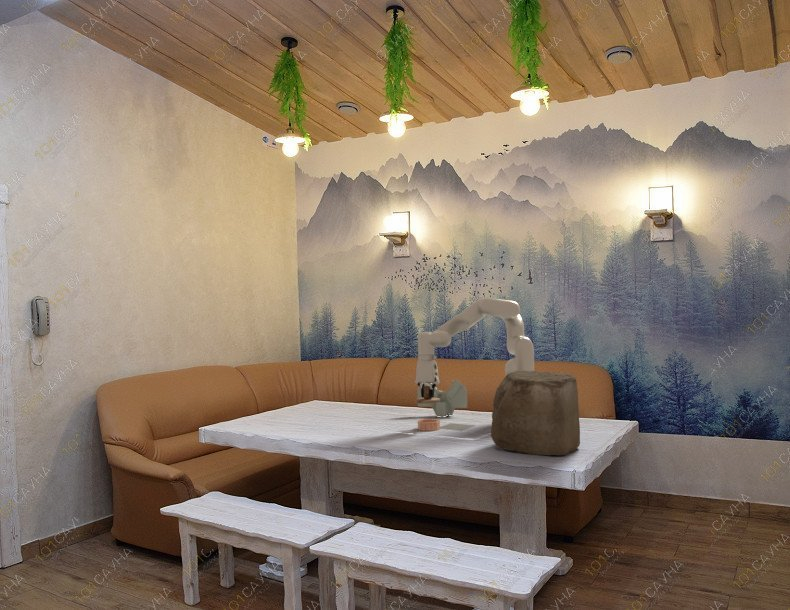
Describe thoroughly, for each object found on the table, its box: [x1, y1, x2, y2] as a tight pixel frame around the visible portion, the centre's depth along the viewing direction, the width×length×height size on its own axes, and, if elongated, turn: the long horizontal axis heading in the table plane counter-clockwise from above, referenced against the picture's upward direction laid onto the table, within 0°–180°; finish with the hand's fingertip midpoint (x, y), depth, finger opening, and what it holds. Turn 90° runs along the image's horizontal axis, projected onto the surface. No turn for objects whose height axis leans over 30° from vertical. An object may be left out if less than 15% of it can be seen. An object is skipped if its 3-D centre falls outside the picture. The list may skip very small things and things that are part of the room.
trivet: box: [439, 422, 477, 431], centre depth 303 cm, size 14×14×1 cm
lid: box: [414, 386, 440, 404], centre depth 300 cm, size 12×12×7 cm
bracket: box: [416, 378, 468, 417], centre depth 338 cm, size 28×7×20 cm, turn 67°
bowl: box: [417, 418, 441, 432], centre depth 300 cm, size 10×10×4 cm
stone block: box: [490, 370, 581, 456], centre depth 254 cm, size 35×25×30 cm
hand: (427, 396), depth 300 cm, fingers closed on lid, 3 cm apart
